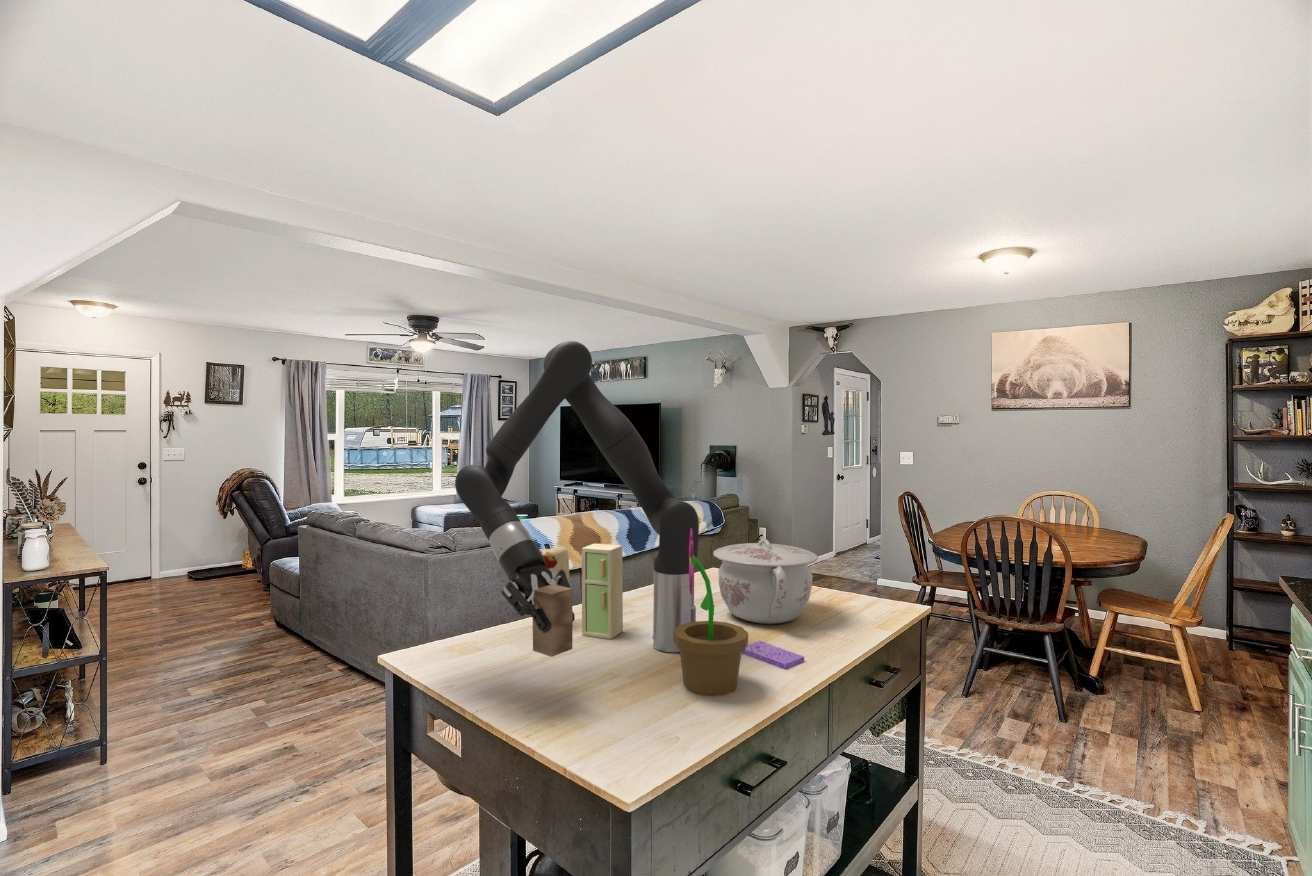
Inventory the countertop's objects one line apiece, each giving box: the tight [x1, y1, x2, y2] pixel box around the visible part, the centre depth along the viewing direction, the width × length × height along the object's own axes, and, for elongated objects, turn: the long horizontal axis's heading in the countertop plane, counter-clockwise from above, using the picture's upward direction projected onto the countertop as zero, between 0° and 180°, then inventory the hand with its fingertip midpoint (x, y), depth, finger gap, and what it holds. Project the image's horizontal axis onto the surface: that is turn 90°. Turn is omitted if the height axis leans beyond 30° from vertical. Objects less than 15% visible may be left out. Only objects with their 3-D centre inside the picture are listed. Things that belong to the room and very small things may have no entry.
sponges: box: [741, 639, 805, 670], centre depth 135 cm, size 7×13×2 cm, turn 40°
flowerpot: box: [673, 528, 749, 697], centre depth 119 cm, size 14×14×30 cm
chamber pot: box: [712, 538, 819, 625], centre depth 164 cm, size 28×28×21 cm
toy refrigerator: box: [581, 543, 624, 640], centre depth 149 cm, size 8×7×21 cm
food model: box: [539, 545, 570, 583], centre depth 153 cm, size 10×7×20 cm
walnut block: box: [532, 585, 573, 658], centre depth 112 cm, size 5×5×11 cm
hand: (559, 625), depth 111 cm, fingers closed on walnut block, 5 cm apart
